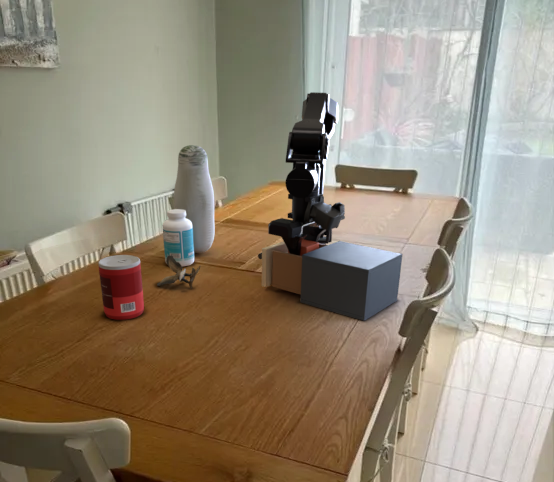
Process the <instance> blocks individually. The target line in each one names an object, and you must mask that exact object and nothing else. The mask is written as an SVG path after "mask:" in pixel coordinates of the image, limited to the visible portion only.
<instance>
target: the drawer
mask: <svg viewBox="0 0 554 482" xmlns="http://www.w3.org/2000/svg"><path fill="white" fill-rule="evenodd" d="M327 245H328V244H326V245H325V244H321V243H319V248H322V247H324V246H327ZM257 258H258V259H259V260H261V287H264V288H268V287H270V286H271V287H273V288H275V289H279V290H282V291H286V292H290V293H293V294H297V295H301V274H302V256H298V255H294V254H290V253H288V248H287V246H286V244H285V243H284V241H283V240H282V241H280V242H278V243H274V244H271V245H268V246H265V247H262V248H261V252H259V253H258V254H257Z"/></svg>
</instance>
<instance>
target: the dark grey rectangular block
mask: <svg viewBox="0 0 554 482" xmlns="http://www.w3.org/2000/svg"><path fill="white" fill-rule="evenodd" d="M326 245H327V246H324V247H322V248H319V249H316V250H314V251H311V252H308V253H306V254H303V255H302V274H301V294H300V300H299V301H300V303H301V304H305V305H308V306H311V307H315V308H318V309H321V310H325V311H329V312H333V313H336V314H340V315H342V316H346V317H350V318H353V319H356V320H360V321H363V322H365V321H367V320H368V319H369V318H371V317H373V316H375V315H376V314H378V313H379V312H381V311H383V310H384V309H387V307H390V306H391V305H392V304H394V303H396V302H397V301H398V298H399V297H398V295H399V287H400V280H401V279H400V278H401V271H402V262H403V253H402V252H401V253H400V252H396V251H391V250H386V249H381V248H376V247H372V246H367V245H363V244H357V243H352V242H349V241H348V242H347V241H342V240H338V241H336V242H335V241H334V242H333V243H332V242H331V243H330V244H326Z"/></svg>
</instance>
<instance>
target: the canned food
mask: <svg viewBox="0 0 554 482" xmlns="http://www.w3.org/2000/svg"><path fill="white" fill-rule="evenodd" d="M98 274H99V283H100V290H101V298H102V306H103V312H104V314H105V316H106V317H107V318H109V319H111V320H116V321H125V320H132V319H135V318H138V317H139V316H141V315H142V314H143V313H144V310H145V301H144V289H143V287H144V286H143V278H142V277H143V276H142V275H143V274H142V265H141V259H140V257H138V256H135V255H132V254H131V255H130V254H115V255H110V256H105V257H103V258H101V259H100V260H98Z"/></svg>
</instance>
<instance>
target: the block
mask: <svg viewBox="0 0 554 482" xmlns="http://www.w3.org/2000/svg"><path fill="white" fill-rule="evenodd" d="M316 249H319V242H314V241H309V240H304V239H303V240H302V242H301V251H300V256H302V255H303V254H306V253H308V252H311V251H314V250H316ZM288 253H289V251H288Z"/></svg>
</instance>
